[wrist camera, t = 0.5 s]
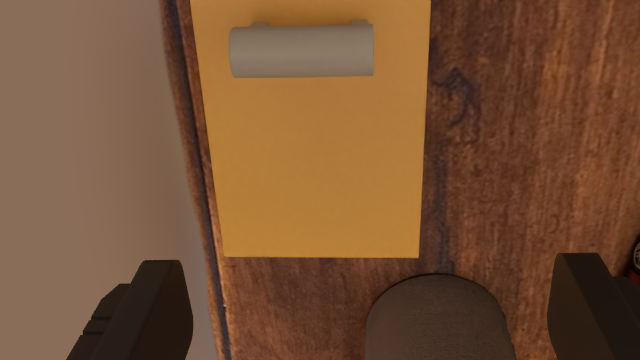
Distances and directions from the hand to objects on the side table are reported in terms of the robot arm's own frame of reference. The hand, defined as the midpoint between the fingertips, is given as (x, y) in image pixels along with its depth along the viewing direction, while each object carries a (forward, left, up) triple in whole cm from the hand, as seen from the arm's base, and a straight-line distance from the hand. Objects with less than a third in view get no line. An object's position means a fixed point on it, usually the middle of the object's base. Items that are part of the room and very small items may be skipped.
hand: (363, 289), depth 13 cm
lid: (+3, -1, -15) cm, 15 cm away
